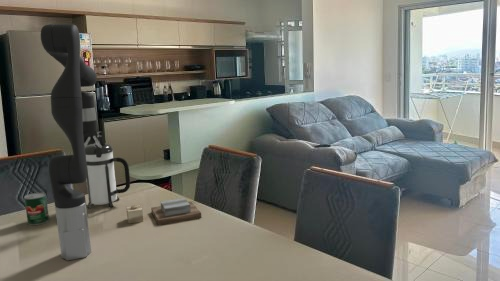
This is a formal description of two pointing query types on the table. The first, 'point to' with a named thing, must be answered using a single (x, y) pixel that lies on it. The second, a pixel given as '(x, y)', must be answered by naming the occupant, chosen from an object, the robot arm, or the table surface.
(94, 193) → the coffee press
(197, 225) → the table surface
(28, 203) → the canned tomato
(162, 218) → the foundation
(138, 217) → the maple block
